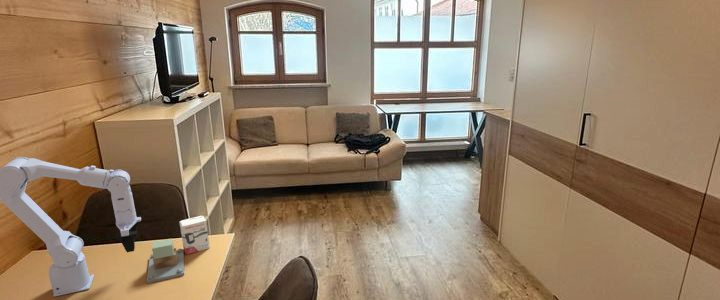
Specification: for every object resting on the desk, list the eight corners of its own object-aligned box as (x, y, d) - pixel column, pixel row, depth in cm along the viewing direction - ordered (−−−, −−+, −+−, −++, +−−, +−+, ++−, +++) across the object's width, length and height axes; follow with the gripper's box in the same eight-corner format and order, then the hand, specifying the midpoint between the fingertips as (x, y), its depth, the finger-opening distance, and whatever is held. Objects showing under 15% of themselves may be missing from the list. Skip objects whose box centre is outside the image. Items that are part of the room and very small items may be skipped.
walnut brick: (154, 269, 133) (152, 259, 132) (155, 262, 137) (153, 252, 136) (177, 264, 135) (175, 254, 134) (177, 258, 139) (175, 248, 138)
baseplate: (147, 283, 127) (146, 279, 127) (150, 258, 141) (149, 254, 141) (184, 275, 131) (183, 271, 131) (183, 251, 145) (183, 247, 145)
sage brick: (153, 259, 132) (152, 248, 131) (154, 252, 136) (152, 242, 134) (173, 255, 134) (171, 244, 133) (173, 248, 138) (172, 238, 137)
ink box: (186, 255, 143) (181, 226, 139) (183, 249, 147) (178, 220, 143) (210, 248, 147) (206, 219, 144) (207, 242, 151) (203, 214, 148)
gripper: (136, 215, 121) (143, 253, 125) (140, 197, 134) (147, 232, 138) (109, 219, 118) (118, 258, 122) (116, 200, 131) (124, 237, 135)
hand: (131, 245), depth 130 cm, fingers open, 7 cm apart
